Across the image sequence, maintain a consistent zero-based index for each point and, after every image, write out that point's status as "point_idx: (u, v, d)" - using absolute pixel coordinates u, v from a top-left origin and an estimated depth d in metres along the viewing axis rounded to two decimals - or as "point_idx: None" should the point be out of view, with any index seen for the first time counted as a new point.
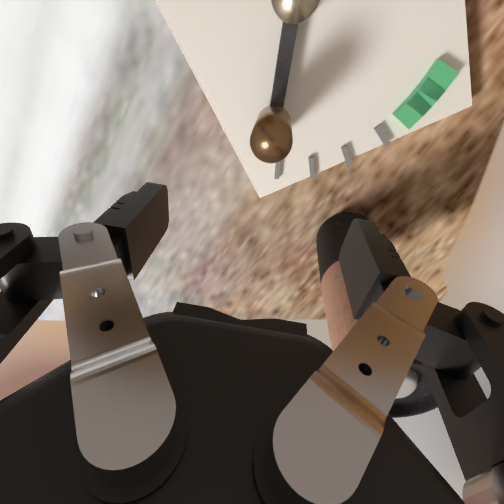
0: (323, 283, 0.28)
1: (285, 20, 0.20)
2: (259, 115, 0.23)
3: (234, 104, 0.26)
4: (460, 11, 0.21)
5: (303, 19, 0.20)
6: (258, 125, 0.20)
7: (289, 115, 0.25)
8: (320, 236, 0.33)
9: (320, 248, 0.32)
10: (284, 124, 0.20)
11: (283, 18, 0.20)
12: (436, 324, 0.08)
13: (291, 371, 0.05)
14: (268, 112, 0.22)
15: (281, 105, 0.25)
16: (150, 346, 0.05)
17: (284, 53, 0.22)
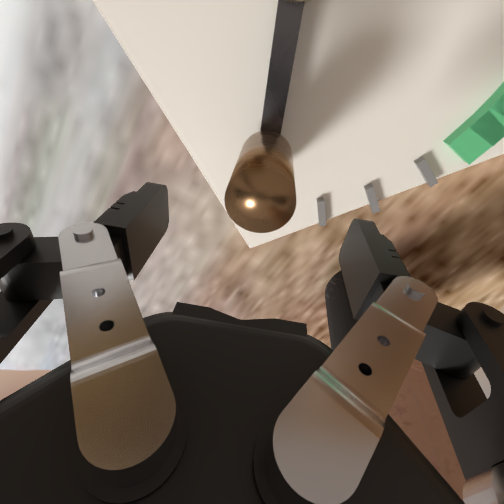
0: None
1: None
2: (243, 149, 0.15)
3: (208, 127, 0.18)
4: None
5: None
6: (237, 177, 0.12)
7: None
8: (331, 295, 0.25)
9: (332, 315, 0.24)
10: (282, 176, 0.12)
11: None
12: (436, 324, 0.08)
13: (291, 371, 0.05)
14: (256, 148, 0.13)
15: (277, 131, 0.16)
16: (150, 346, 0.05)
17: (282, 51, 0.14)
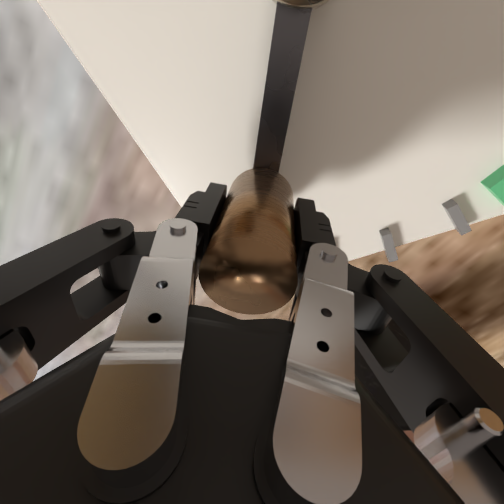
0: None
1: None
2: (229, 194, 0.12)
3: (190, 158, 0.14)
4: None
5: None
6: (215, 250, 0.08)
7: (290, 186, 0.13)
8: None
9: None
10: (278, 251, 0.08)
11: None
12: None
13: None
14: (245, 200, 0.10)
15: (275, 168, 0.13)
16: (178, 354, 0.05)
17: (282, 72, 0.11)
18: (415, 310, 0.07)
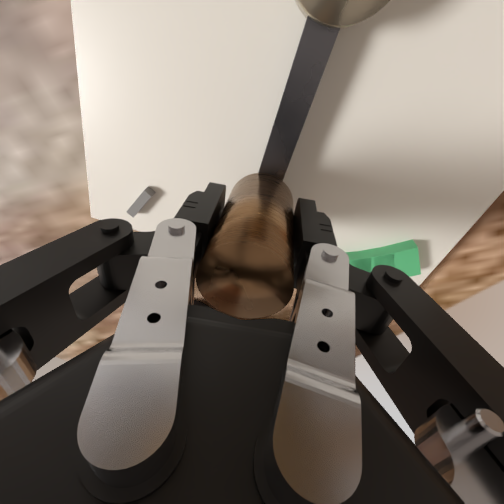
0: None
1: (315, 14, 0.09)
2: (233, 196, 0.12)
3: (121, 43, 0.12)
4: (475, 213, 0.14)
5: (356, 20, 0.09)
6: (217, 251, 0.08)
7: None
8: None
9: None
10: (279, 261, 0.08)
11: (311, 8, 0.09)
12: None
13: None
14: (249, 204, 0.10)
15: (279, 176, 0.13)
16: (177, 353, 0.05)
17: (301, 85, 0.11)
18: (416, 311, 0.07)
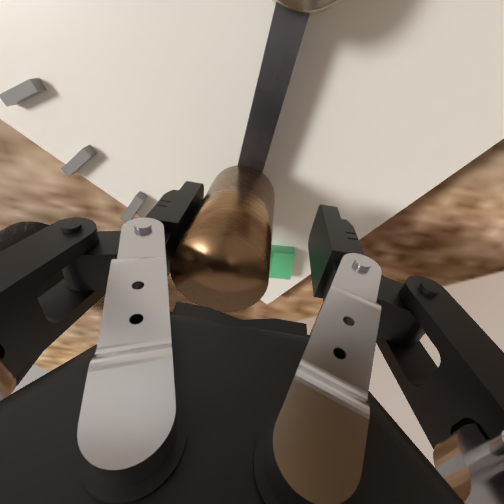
0: None
1: None
2: (211, 189, 0.12)
3: None
4: None
5: (323, 4, 0.09)
6: (189, 243, 0.08)
7: (272, 188, 0.13)
8: (4, 235, 0.18)
9: None
10: (251, 251, 0.08)
11: None
12: (379, 296, 0.08)
13: (291, 371, 0.05)
14: (225, 196, 0.10)
15: (259, 168, 0.13)
16: (167, 349, 0.05)
17: (274, 73, 0.11)
18: (450, 325, 0.07)
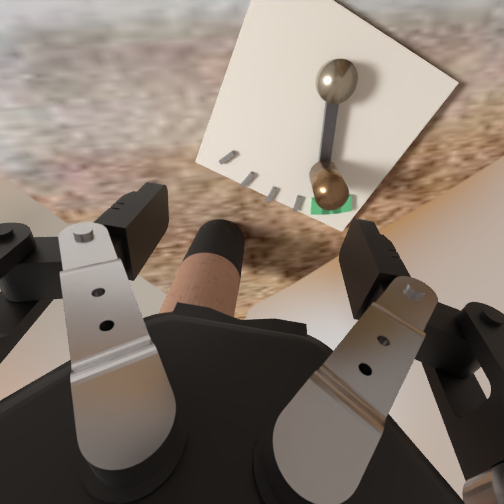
0: (188, 260, 0.32)
1: (330, 102, 0.27)
2: (314, 171, 0.30)
3: (243, 87, 0.29)
4: (376, 184, 0.33)
5: (344, 100, 0.26)
6: (321, 185, 0.26)
7: (336, 166, 0.31)
8: (208, 226, 0.38)
9: (202, 234, 0.36)
10: (342, 182, 0.26)
11: (328, 101, 0.27)
12: (436, 324, 0.08)
13: (291, 371, 0.05)
14: (324, 171, 0.28)
15: (329, 159, 0.31)
16: (150, 346, 0.05)
17: (330, 123, 0.28)
18: None
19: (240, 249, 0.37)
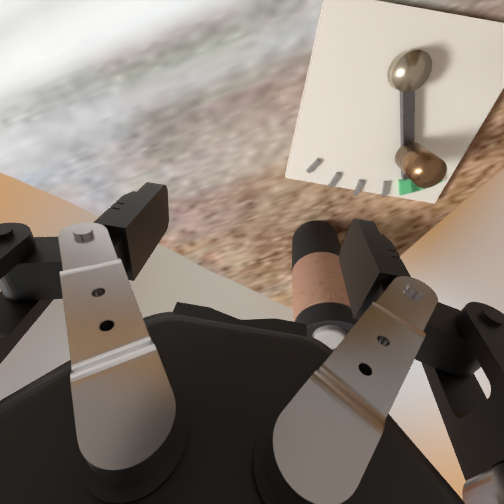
0: (301, 262, 0.36)
1: (407, 91, 0.29)
2: (402, 156, 0.32)
3: (320, 102, 0.32)
4: (463, 149, 0.34)
5: (421, 85, 0.28)
6: (418, 167, 0.28)
7: None
8: (304, 229, 0.42)
9: (302, 238, 0.41)
10: (438, 159, 0.28)
11: (406, 91, 0.29)
12: (436, 324, 0.08)
13: (291, 371, 0.05)
14: (414, 153, 0.30)
15: (412, 141, 0.33)
16: (150, 346, 0.05)
17: (408, 108, 0.31)
18: None
19: (338, 243, 0.40)
